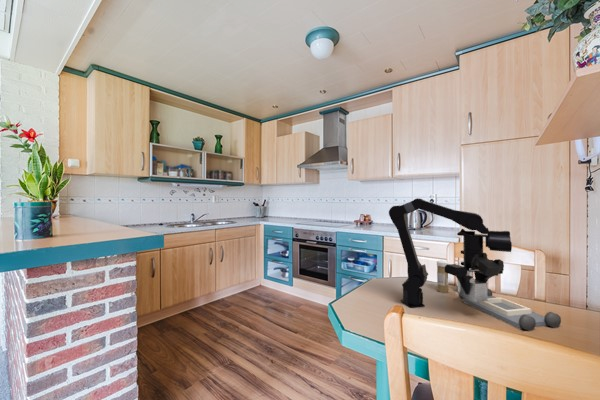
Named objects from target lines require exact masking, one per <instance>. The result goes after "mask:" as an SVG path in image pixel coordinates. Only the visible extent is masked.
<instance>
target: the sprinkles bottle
mask: <svg viewBox="0 0 600 400" xmlns="http://www.w3.org/2000/svg"><path fill="white" fill-rule="evenodd" d="M447 264H449V262H448V261H446V260H437V261H436V266H437V267H436V268H437V269H436V277H437V278H436V281H437V282H436V283H437V289H436V290H437V292H439V293H443V294H447V293H449V274H448V273H446V272H445V266H446V265H447Z"/></svg>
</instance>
